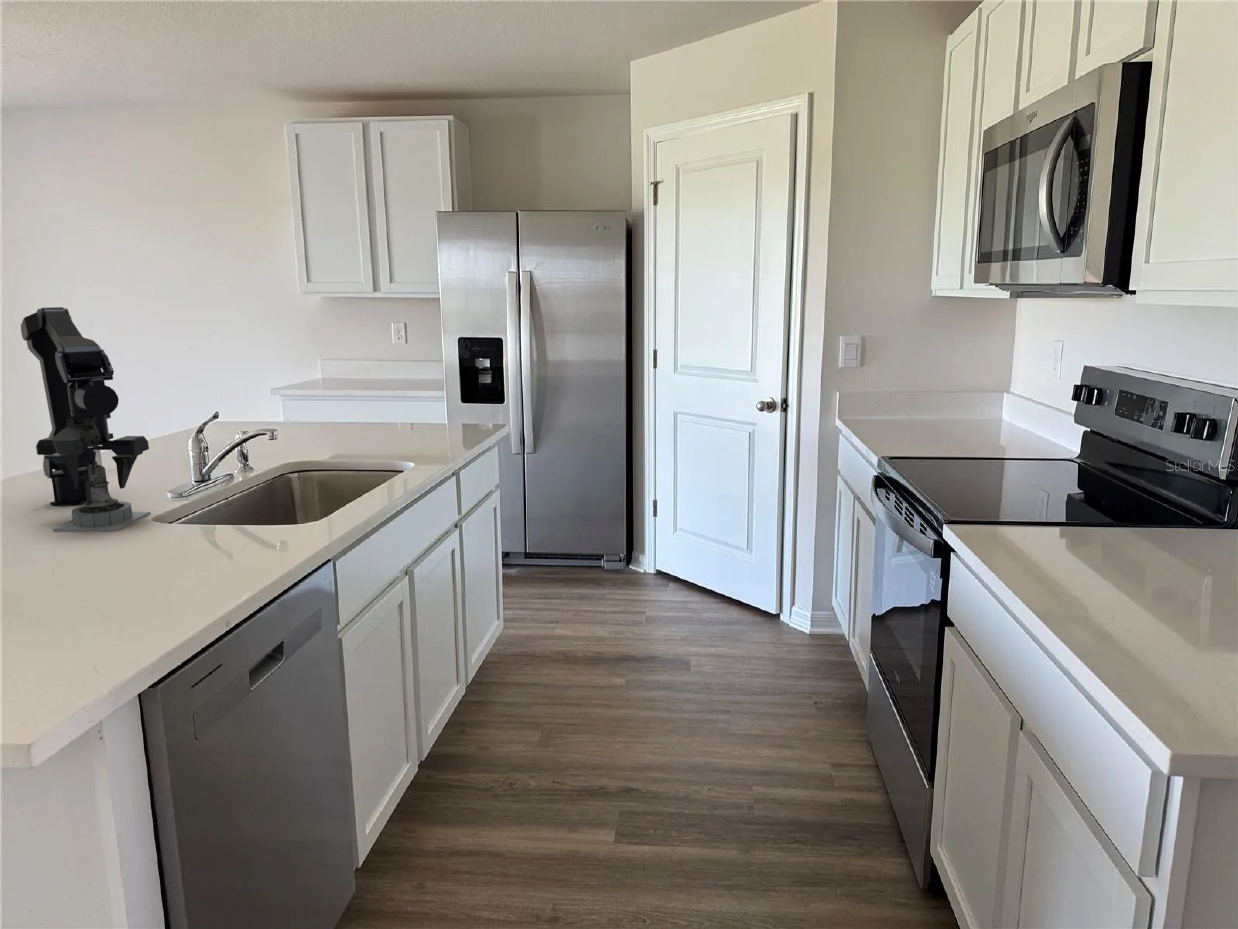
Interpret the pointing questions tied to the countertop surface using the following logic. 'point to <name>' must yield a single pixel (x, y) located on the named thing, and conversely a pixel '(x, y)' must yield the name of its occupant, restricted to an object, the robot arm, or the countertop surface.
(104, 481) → the salt shaker
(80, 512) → the collar
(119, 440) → the robot arm
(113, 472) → the countertop surface
